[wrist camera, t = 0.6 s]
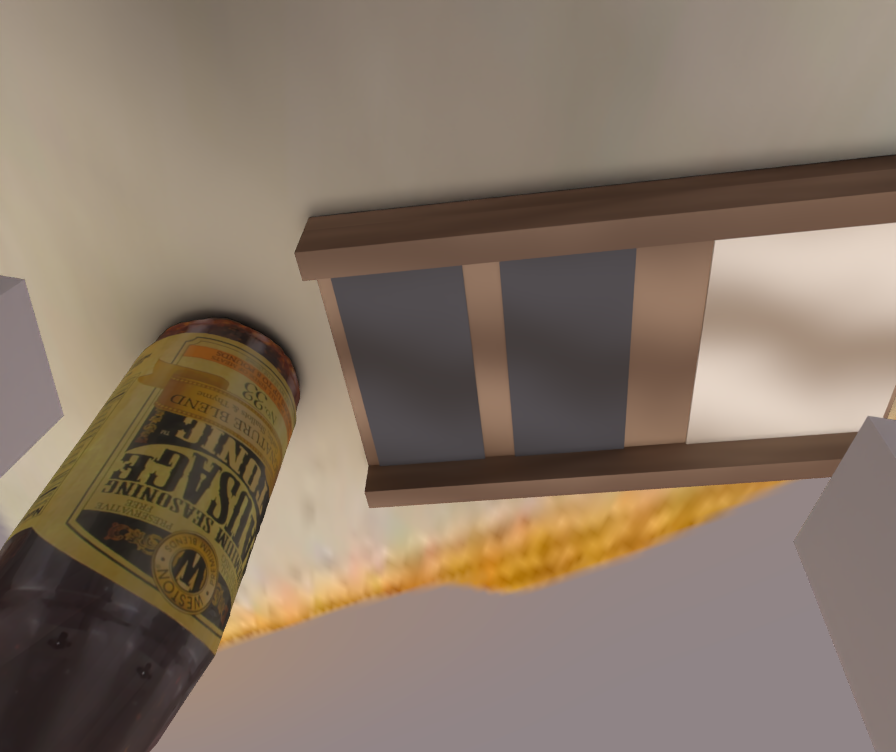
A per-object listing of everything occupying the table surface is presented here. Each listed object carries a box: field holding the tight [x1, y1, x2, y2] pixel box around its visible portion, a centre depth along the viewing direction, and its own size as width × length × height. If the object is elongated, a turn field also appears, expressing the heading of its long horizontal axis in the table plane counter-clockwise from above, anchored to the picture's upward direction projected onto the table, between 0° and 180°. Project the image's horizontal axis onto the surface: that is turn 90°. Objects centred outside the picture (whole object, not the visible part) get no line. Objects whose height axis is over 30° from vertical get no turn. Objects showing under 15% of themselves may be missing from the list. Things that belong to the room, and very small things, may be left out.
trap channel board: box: [295, 155, 896, 508], centre depth 24 cm, size 12×21×2 cm, turn 97°
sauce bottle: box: [0, 317, 300, 752], centre depth 19 cm, size 7×6×20 cm
